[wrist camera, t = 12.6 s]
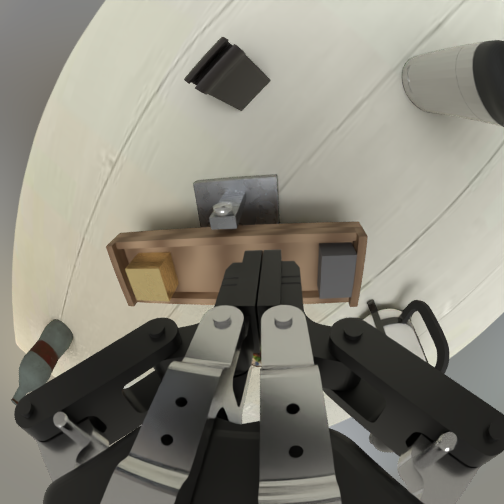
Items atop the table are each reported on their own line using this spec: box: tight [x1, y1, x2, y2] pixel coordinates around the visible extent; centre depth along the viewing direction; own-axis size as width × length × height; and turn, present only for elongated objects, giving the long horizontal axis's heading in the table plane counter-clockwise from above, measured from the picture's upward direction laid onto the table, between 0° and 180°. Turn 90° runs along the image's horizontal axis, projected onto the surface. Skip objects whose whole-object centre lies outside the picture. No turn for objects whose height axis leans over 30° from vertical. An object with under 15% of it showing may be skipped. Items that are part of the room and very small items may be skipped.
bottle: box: [11, 319, 73, 406], centre depth 51 cm, size 9×9×30 cm
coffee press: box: [363, 300, 449, 452], centre depth 37 cm, size 17×16×30 cm
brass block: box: [125, 252, 179, 302], centre depth 34 cm, size 5×5×4 cm
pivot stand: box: [193, 175, 279, 230], centre depth 39 cm, size 12×18×11 cm, turn 5°
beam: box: [106, 222, 368, 307], centre depth 34 cm, size 32×10×4 cm, turn 95°
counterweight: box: [317, 242, 357, 299], centre depth 32 cm, size 4×6×3 cm, turn 5°
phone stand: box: [184, 37, 270, 111], centre depth 26 cm, size 9×6×12 cm, turn 48°
